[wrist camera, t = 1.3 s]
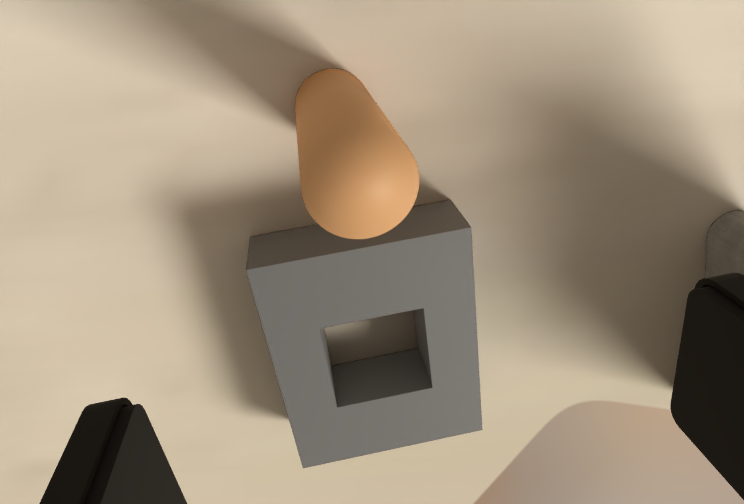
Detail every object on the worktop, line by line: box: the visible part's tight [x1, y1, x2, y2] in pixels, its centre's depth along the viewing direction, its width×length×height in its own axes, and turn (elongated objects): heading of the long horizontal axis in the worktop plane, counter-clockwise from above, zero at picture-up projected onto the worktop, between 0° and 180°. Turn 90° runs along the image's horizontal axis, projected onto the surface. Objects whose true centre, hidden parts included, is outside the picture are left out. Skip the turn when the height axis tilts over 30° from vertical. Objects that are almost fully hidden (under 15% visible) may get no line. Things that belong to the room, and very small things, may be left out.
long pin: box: [295, 69, 419, 239], centre depth 23 cm, size 4×4×12 cm
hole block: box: [246, 200, 482, 468], centre depth 33 cm, size 15×12×4 cm
